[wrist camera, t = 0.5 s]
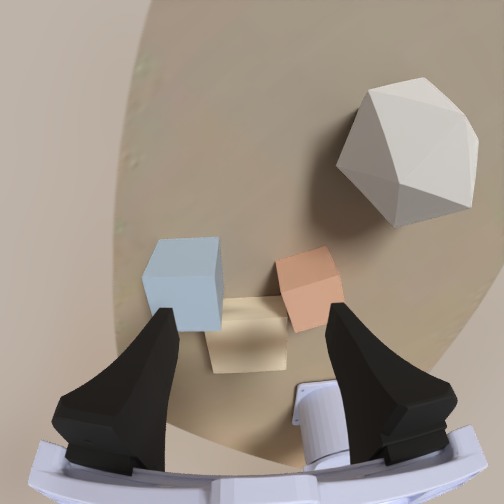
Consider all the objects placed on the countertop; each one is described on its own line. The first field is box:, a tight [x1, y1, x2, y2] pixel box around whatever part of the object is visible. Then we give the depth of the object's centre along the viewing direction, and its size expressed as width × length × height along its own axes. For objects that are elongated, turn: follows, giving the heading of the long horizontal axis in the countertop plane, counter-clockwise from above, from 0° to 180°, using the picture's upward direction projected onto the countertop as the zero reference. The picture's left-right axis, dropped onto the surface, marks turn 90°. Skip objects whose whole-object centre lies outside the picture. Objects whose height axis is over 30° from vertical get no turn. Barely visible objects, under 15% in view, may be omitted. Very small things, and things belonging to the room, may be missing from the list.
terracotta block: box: [276, 246, 345, 333], centre depth 23 cm, size 4×4×4 cm
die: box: [336, 77, 479, 228], centre depth 16 cm, size 8×9×10 cm
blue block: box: [142, 237, 224, 331], centre depth 21 cm, size 4×4×5 cm
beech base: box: [204, 295, 288, 373], centre depth 26 cm, size 6×6×3 cm
